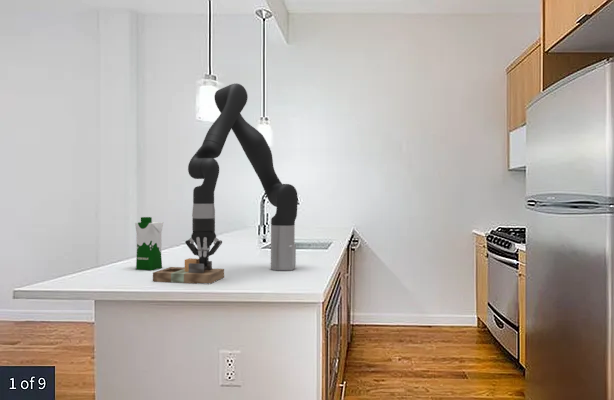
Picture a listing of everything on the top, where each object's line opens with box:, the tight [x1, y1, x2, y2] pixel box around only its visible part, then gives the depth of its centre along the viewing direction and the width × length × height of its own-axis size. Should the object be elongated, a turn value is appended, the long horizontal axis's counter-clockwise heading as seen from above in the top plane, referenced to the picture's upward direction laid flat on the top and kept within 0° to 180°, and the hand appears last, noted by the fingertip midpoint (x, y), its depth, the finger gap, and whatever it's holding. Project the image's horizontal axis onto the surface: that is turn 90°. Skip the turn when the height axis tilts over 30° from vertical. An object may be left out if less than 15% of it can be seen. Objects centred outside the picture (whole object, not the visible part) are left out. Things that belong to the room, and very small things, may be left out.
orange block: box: [184, 257, 199, 272], centre depth 191 cm, size 4×4×4 cm
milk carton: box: [134, 216, 164, 271], centre depth 215 cm, size 9×9×20 cm
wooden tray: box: [152, 260, 225, 284], centre depth 191 cm, size 20×14×6 cm
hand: (203, 267), depth 190 cm, fingers closed
